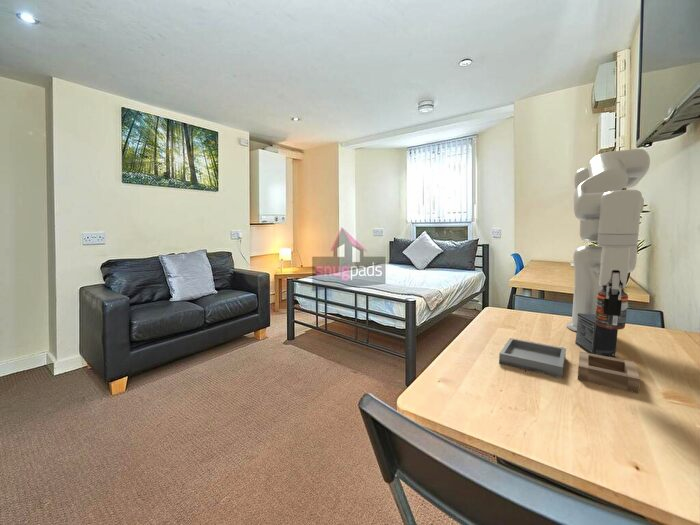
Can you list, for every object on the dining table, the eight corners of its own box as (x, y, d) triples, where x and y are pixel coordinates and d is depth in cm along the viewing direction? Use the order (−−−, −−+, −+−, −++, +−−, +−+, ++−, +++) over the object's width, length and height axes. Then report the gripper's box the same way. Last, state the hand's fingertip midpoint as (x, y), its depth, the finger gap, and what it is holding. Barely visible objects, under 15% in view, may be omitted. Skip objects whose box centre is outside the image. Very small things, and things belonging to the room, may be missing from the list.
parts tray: (509, 346, 100) (510, 337, 100) (565, 358, 91) (565, 348, 91) (499, 363, 88) (499, 353, 88) (561, 378, 79) (562, 367, 79)
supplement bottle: (588, 323, 81) (592, 281, 80) (609, 322, 82) (613, 280, 80) (609, 331, 75) (613, 286, 74) (631, 329, 76) (636, 285, 74)
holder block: (578, 363, 88) (579, 351, 87) (633, 374, 81) (634, 361, 80) (577, 379, 79) (578, 366, 78) (638, 393, 72) (639, 379, 71)
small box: (617, 357, 91) (620, 323, 89) (592, 356, 92) (595, 322, 91) (596, 344, 101) (599, 313, 100) (574, 343, 102) (576, 312, 101)
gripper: (596, 238, 85) (591, 302, 87) (598, 243, 71) (592, 317, 73) (633, 239, 80) (627, 305, 82) (642, 244, 66) (634, 323, 69)
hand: (610, 310), depth 78 cm, fingers closed on supplement bottle, 6 cm apart
